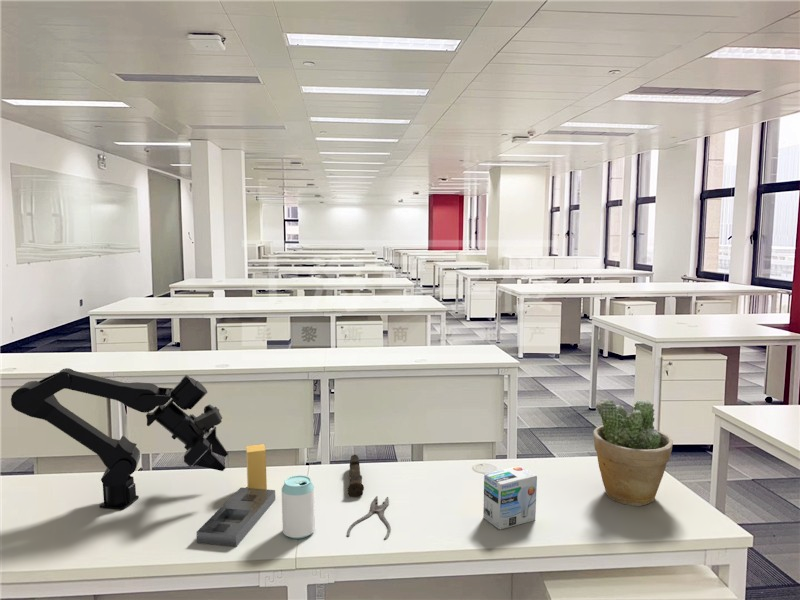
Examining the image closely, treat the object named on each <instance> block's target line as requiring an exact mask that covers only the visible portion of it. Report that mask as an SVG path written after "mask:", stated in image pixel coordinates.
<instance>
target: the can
mask: <svg viewBox="0 0 800 600" xmlns="http://www.w3.org/2000/svg"><path fill="white" fill-rule="evenodd" d="M315 502H316V501H315V485H314V484H313V482H312V479H311V478H310V476H307V475H302V474H301V475H300V474H299V475H292V476H288V478H286V479H285V480H284V484H283V485H282V486H281V515H282V517H281V518H282V519H281V520H282V521H281V522H282V533H283V534H284V536H286V537H288V538H290V539H293V540H294V539H297V540H298V539H299V540H300V539H304V538H306V537H307V538H308V537H309V536H310V535H312V534H313V532H315V531H316V515H315V513H316V512H315V511H316V509H315V507H316V506H315Z"/></svg>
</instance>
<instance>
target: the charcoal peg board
mask: <svg viewBox="0 0 800 600" xmlns="http://www.w3.org/2000/svg"><path fill="white" fill-rule="evenodd" d="M275 501H276V490H275V489H268V488H267V489H254V488H248V487H239V489H237V490H236V492H235V493H234V494H232V496H231V497H230V498H228V500H227V501H225V503H224V504H223V505H221V507H219V508H218V510H217V511H216V512H214V514H213V515H211V517H210V518H209V519H208V520H207V521H205V523H204V524H203V525H202V526H201V527H200V528H199V529H198V530H197V531H196V543H197V544H203V545H204V544H205V545H215V546H223V547H224V546H225V547H236V548H237V547H238V546H239V545H240V544H241V542H242V541H243V540H244V538H246V536H247V535H248V534H249V532H250V531H251V530H252V528H253V527H254V526H255V525H256V524H257V523H258V522H259V520H260V519H261V518H262V517H263V516H264V514H265V513H266V512H267V510H269V509H270V507H271V506H272V505H273V504H274V502H275ZM227 520H237V521H240V522H238V523H237V522H230V521H229V522H228V521H227Z"/></svg>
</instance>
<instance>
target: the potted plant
mask: <svg viewBox="0 0 800 600" xmlns="http://www.w3.org/2000/svg"><path fill="white" fill-rule="evenodd" d="M653 407H654V403H652V402H651V401H649V400H647V399H639V400H637V401H636V402H635V403H634V407H633V410H632V412H631V413H630V414H629V415H628V411H627V409H625V407H624V406H623V405H622V404H615V403H614V400H610V398H603V399H601V400H599V401H597V403H596V406H595V408H596V409H597V411H598V414H599V416H600V417H601V423H602V425H600V426H597V427H596V428H595V429H594V430H593V433H592V434H593V435H592V436H593V443H594V445H593V446H594V450H595V452H596V457H597V462H598V463H597V464H598V468H599V472H600V475H601V476H600V477H601V481H602V484H603V486H604V491H605V493H606V495H607V496H608V498H610V499H611V500H613V501H615V502H617V503H620V504H624V505H628V506H633V507H635V506H637V507H642V506H646V505H649V504H651V503H653V502H654V500H655V498H656V496H657V492H658V490H659V487H660V484H661V482H662V479H663V477H664V474H665V471H666V467H667V463H669V461H670V459H671V456H672V455H671V454H672V451H673V445H674V440H673V439H672V438H671V437H670V436H669V435H668V434H666V433H664V432H661V431H659V430H658V429H655V426H654V422H655V417H654V415H655V413H654V412H655V409H654V408H653Z"/></svg>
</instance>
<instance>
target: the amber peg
mask: <svg viewBox="0 0 800 600" xmlns="http://www.w3.org/2000/svg"><path fill="white" fill-rule="evenodd" d="M245 448H246V449H245V452H246V453H245V454H246V479H247V480H246V481H247V482H246V483H247V488H254V489H267V490H268V485H267V483H268V482H267V452H266V447H265V444H264V443H262V444H261V443H260V444H254V445H253V444H252V445H245Z"/></svg>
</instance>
